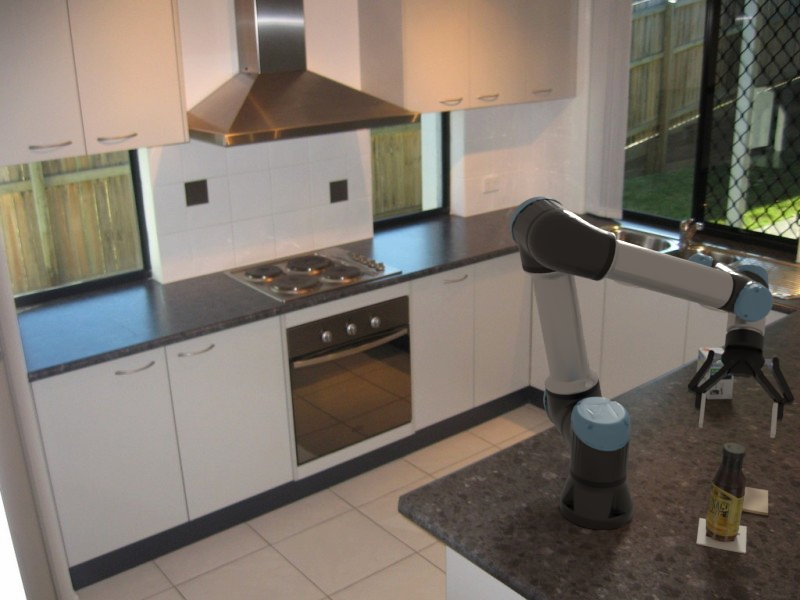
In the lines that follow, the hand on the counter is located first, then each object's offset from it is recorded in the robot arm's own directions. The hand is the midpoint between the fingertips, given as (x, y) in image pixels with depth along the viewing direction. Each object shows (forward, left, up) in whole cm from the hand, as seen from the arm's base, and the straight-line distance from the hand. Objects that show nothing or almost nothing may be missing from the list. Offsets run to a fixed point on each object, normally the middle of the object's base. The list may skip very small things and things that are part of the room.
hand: (736, 430), depth 171 cm
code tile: (-1, -10, -19) cm, 21 cm away
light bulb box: (-6, +58, -19) cm, 61 cm away
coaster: (+3, +5, -19) cm, 20 cm away
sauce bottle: (-1, -10, -18) cm, 21 cm away
